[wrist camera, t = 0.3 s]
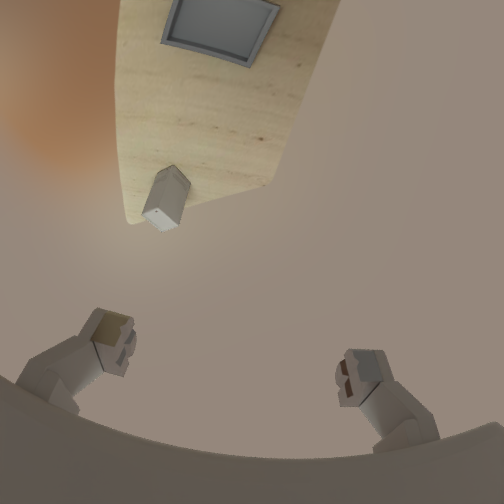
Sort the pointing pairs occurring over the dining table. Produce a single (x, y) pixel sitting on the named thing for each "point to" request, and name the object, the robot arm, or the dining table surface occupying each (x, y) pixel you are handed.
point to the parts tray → (220, 27)
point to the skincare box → (166, 199)
